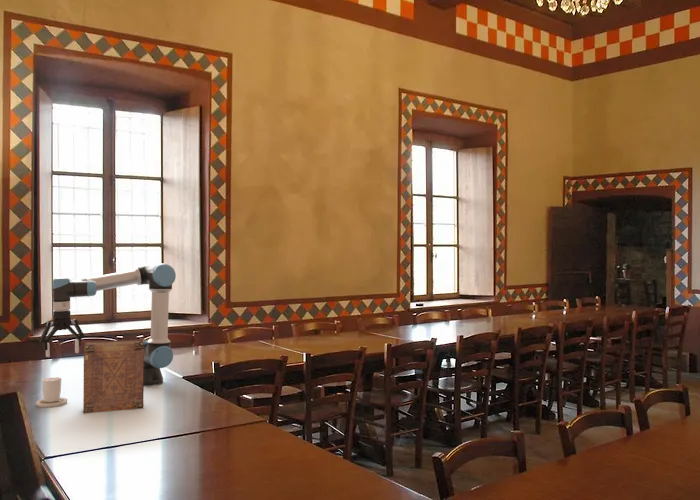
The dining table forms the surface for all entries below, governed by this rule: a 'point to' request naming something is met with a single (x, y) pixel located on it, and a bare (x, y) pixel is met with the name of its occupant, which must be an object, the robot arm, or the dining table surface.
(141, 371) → the book
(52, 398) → the white cup
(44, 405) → the beige saucer
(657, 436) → the dining table surface
